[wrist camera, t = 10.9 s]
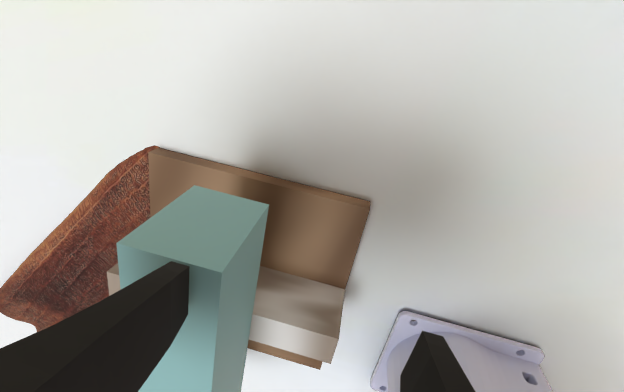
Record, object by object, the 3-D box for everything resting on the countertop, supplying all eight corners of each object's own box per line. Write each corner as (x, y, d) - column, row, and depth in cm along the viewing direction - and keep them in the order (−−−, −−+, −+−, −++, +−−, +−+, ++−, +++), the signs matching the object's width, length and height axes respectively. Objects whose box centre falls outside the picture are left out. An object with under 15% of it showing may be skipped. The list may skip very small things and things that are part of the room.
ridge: (370, 201, 19) (368, 247, 15) (321, 358, 25) (310, 425, 21) (158, 147, 20) (96, 175, 16) (161, 310, 26) (116, 364, 22)
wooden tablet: (143, 122, 19) (251, 255, 20) (169, 118, 21) (265, 239, 22) (-19, 303, 29) (57, 385, 30) (8, 289, 31) (79, 365, 32)
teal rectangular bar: (237, 412, 22) (201, 508, 17) (186, 397, 22) (138, 486, 17) (268, 204, 15) (221, 272, 10) (194, 185, 15) (116, 242, 10)
